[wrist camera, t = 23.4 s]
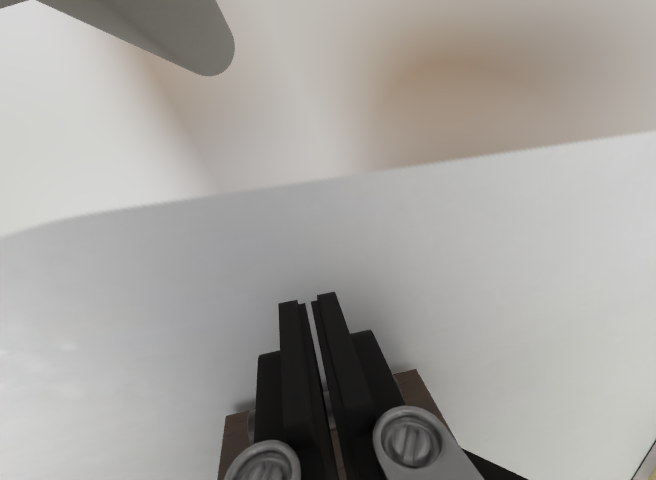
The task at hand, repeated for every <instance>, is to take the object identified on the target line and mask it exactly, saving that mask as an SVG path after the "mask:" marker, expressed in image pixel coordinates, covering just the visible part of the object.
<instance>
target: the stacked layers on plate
mask: <svg viewBox="0 0 656 480" xmlns="http://www.w3.org/2000/svg"><path fill="white" fill-rule="evenodd" d="M633 480H656V443H655V444H654V446H653V448H652V449H651V451H650V452H649V454H648V456H647V457H646V459H645V461H644V462H643V464H642V465H641V467H640V469H639V470H638V472H637V473H636V475H635V477H634V478H633Z"/></svg>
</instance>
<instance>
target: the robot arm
mask: <svg viewBox="0 0 656 480" xmlns="http://www.w3.org/2000/svg"><path fill="white" fill-rule="evenodd" d="M317 299H318V300H317V301H312V302H311V305H312V310H313V315H314V320H315V325H316V330H317V335H318V340H319V345H320V351H321V356H322V361H323V366H324V371H325V376H326V380H327V385H328V390H329V395H330V400H331V405H332V410H333V415H334V420H335V424H336V429H337V434H338V439H339V444H340V449H341V454H342V459H343V463H344V468H345V473H346V478H347V480H528V479H526V478H524V477H522V476H519V475H517V474H515V473H513V472H511V471H509V470H507V469H505V468H502V467H500V466H498V465H496V464H494V463H492V462H490V461H488V460H485V459H483V458H481V457H479V456H477V455H475V454H473V453H471V452H468V451H466V450H464V449H462V448H461V447H460V446H459V445H458V443H457V442H456V441H455V439H454V438H453V437H452V435H451V434H450V433H449V431H448V430H447V428H446V427H445V426H444V424H443V423H442V422H441V421H440V420H439V419H438V418H437V417H436V416H435V415H433V414H432V413H430V412H428V411H427V410H425V409H422V408H418V407H415V406H406V404H405V402H404V400H403V397H402V395H401V393H400V391H399V389H398V387H397V384H396V382H395V380H394V378H393V376H392V373H391V371H390V369H389V367H388V365H387V362H386V360H385V358H384V356H383V354H382V352H381V349H380V347H379V345H378V343H377V341H376V338H375V336H374V334H373V332H372V331H371V330H367V331H362V332H358V333H354V334H350V333H349V330H348V328H347V325H346V322H345V319H344V316H343V313H342V310H341V308H340V305H339V302H338V299H337V296H336V293H335V292H330V293H326V294H321V295H317ZM279 330H280V351H275V352H271V353H266V354H262V355H259V357H258V370H257V389H256V408H255V427H254V445H252V446H250V447H248V448H247V449H245V450H244V451H243V452H242V453H241V454H240V455H239V456H237V457H236V459H235V460H234V461H233V463H232V464H231V466H230V467H229V468H228V470H227V473H226V475H225V478H224V480H339V475H338V469H337V464H336V458H335V453H334V448H333V442H332V437H331V431H330V426H329V421H328V415H327V410H326V404H325V399H324V394H323V388H322V383H321V378H320V373H319V368H318V363H317V358H316V353H315V349H314V344H313V339H312V334H311V329H310V324H309V320H308V315H307V310H306V305H305V303H303V304H298V302H297V300H293V301H289V302H284V303H279Z"/></svg>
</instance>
